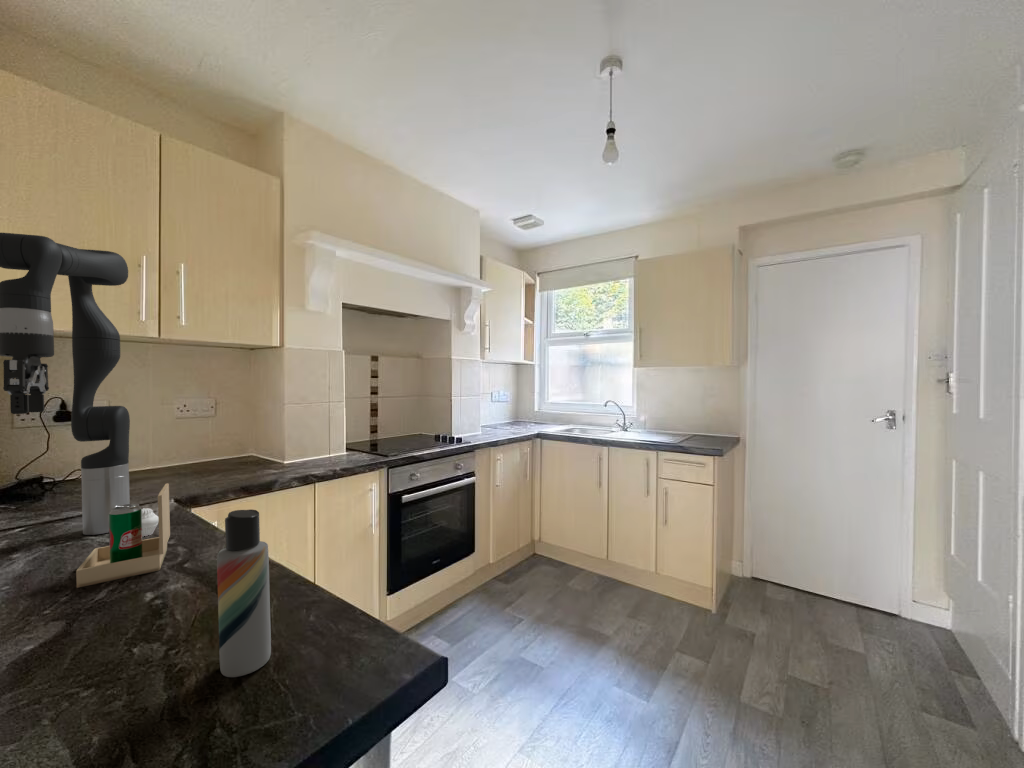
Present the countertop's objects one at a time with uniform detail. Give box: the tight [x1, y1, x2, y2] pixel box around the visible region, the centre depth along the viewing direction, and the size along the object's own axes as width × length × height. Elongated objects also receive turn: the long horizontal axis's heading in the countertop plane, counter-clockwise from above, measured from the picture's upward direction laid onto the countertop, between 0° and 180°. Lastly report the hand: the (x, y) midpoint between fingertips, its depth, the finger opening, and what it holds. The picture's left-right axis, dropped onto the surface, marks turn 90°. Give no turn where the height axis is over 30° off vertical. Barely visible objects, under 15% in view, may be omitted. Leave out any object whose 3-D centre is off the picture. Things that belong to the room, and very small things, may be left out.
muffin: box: [141, 507, 159, 538], centre depth 107 cm, size 6×6×7 cm
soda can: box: [108, 503, 143, 563], centre depth 88 cm, size 5×5×12 cm
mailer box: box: [75, 483, 171, 589], centre depth 88 cm, size 14×13×15 cm
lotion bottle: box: [216, 509, 272, 678], centre depth 55 cm, size 6×6×20 cm
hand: (28, 412), depth 85 cm, fingers open, 8 cm apart
